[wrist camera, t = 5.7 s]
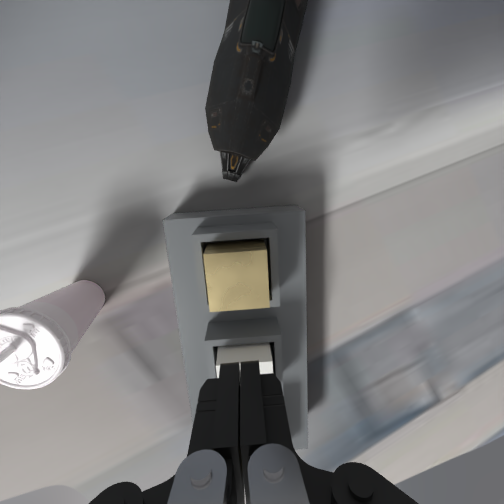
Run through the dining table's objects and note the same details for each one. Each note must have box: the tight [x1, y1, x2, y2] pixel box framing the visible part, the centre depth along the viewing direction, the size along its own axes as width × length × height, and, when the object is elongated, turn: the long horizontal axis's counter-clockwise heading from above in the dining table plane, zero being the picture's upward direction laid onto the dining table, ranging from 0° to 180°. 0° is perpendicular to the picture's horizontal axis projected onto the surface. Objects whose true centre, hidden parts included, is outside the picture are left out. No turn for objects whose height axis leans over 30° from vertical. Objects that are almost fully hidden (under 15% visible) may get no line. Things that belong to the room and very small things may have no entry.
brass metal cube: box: [203, 239, 270, 312], centre depth 22 cm, size 4×4×3 cm
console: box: [163, 205, 308, 450], centre depth 28 cm, size 12×26×7 cm, turn 4°
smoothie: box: [0, 280, 105, 389], centre depth 23 cm, size 6×6×14 cm
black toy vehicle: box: [205, 0, 308, 182], centre depth 21 cm, size 7×25×8 cm, turn 166°
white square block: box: [216, 342, 273, 378], centre depth 25 cm, size 4×4×3 cm
